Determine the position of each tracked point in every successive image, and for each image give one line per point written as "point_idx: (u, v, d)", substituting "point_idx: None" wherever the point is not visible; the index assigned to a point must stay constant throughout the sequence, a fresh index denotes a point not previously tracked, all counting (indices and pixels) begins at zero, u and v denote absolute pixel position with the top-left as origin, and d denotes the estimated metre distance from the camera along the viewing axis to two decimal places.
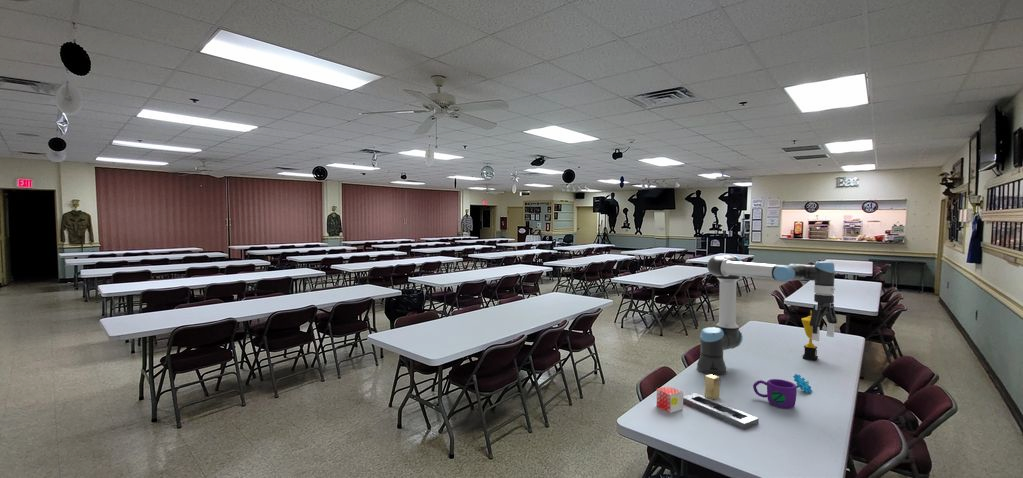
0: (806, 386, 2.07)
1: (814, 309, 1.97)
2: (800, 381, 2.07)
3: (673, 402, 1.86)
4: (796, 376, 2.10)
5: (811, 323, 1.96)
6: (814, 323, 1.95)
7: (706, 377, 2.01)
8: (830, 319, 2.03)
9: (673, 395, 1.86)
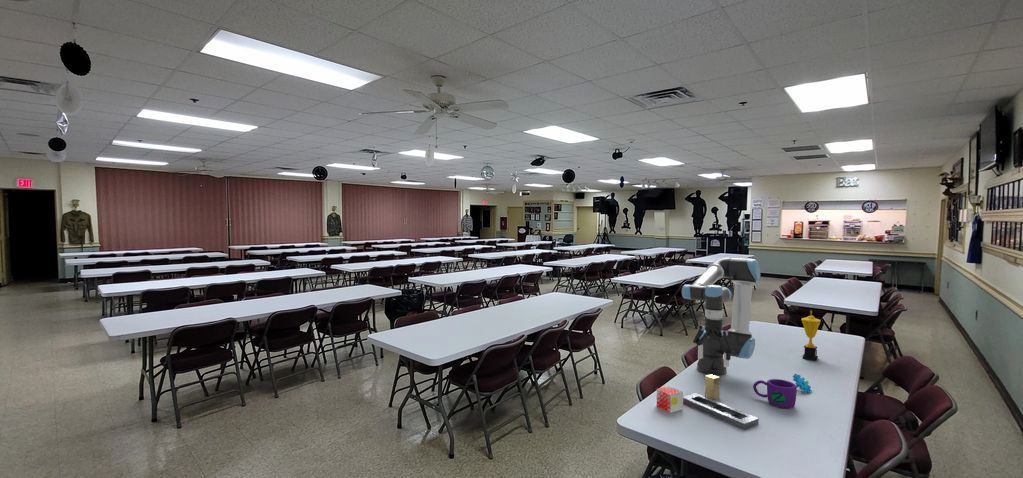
0: (805, 386, 2.07)
1: None
2: (799, 381, 2.08)
3: (673, 402, 1.86)
4: (795, 376, 2.10)
5: None
6: None
7: (706, 377, 2.01)
8: None
9: (673, 395, 1.86)
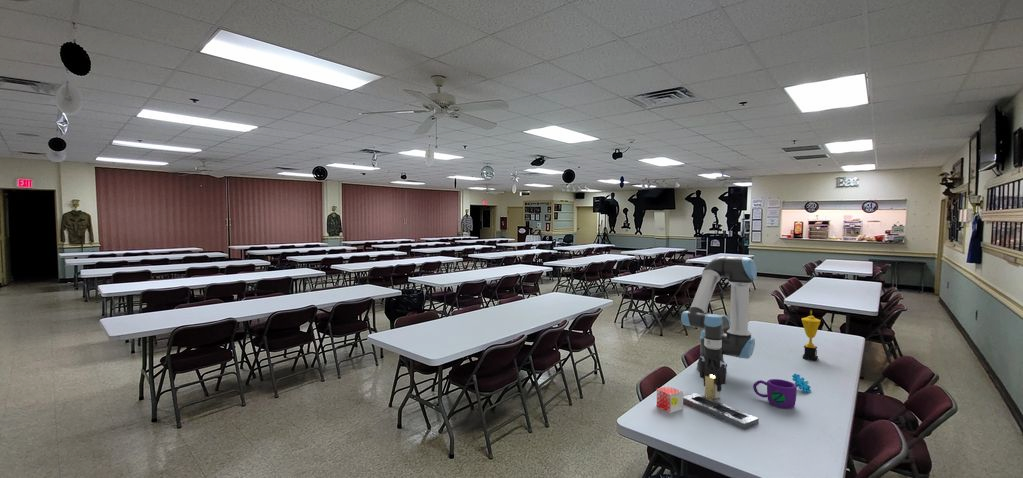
0: (805, 386, 2.07)
1: None
2: (799, 381, 2.08)
3: (673, 402, 1.86)
4: (795, 376, 2.11)
5: None
6: None
7: (706, 377, 2.01)
8: None
9: (673, 395, 1.86)
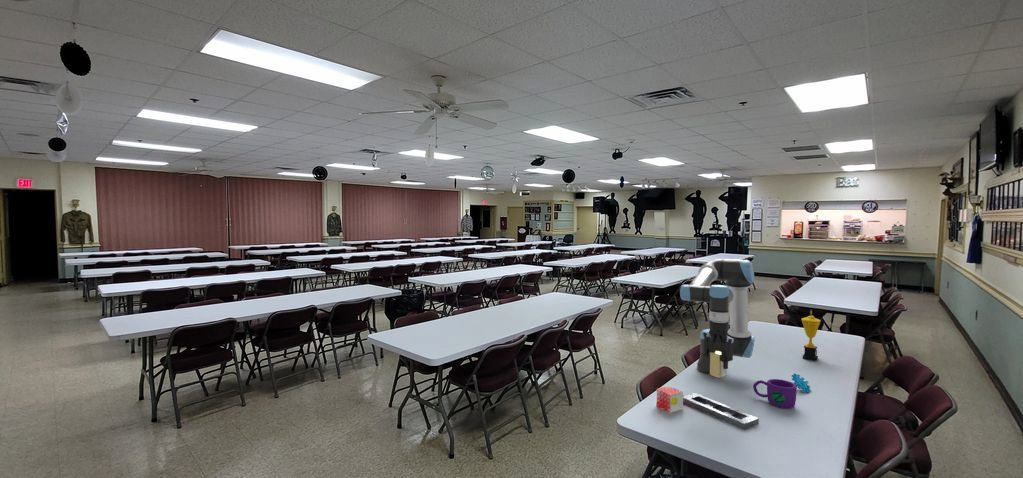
0: (804, 386, 2.07)
1: None
2: (798, 380, 2.08)
3: (673, 402, 1.86)
4: (795, 375, 2.11)
5: None
6: None
7: (711, 354, 1.84)
8: None
9: (673, 395, 1.86)
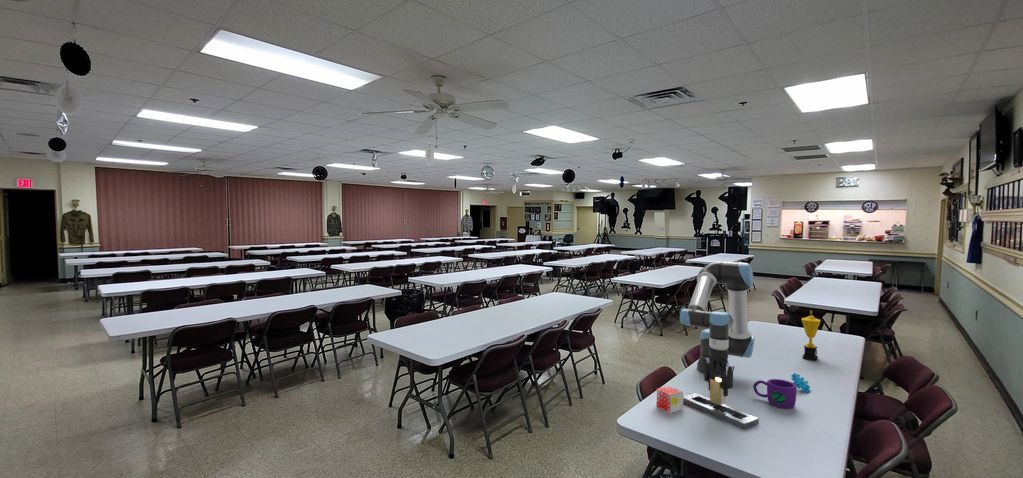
0: (804, 385, 2.07)
1: None
2: (798, 380, 2.08)
3: (673, 402, 1.86)
4: (794, 375, 2.11)
5: None
6: None
7: (711, 380, 1.84)
8: None
9: (673, 395, 1.86)
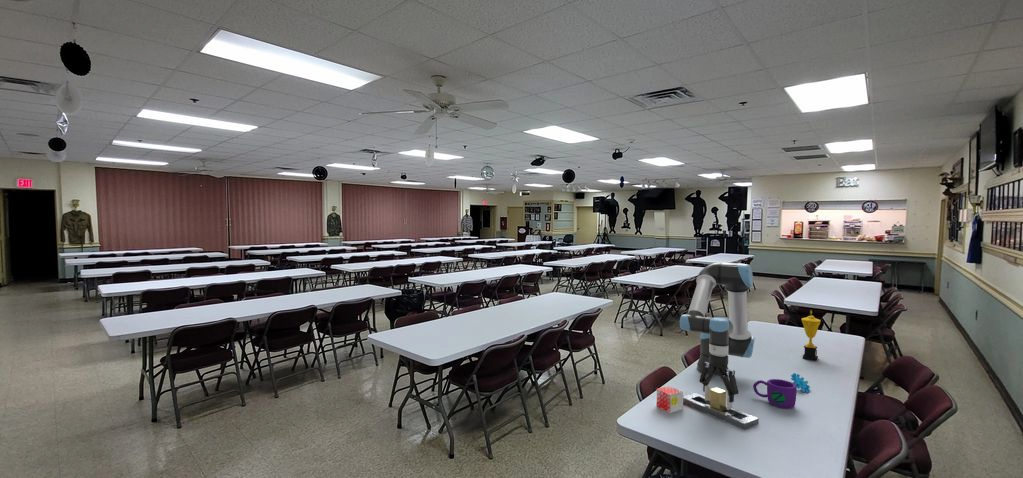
0: (804, 385, 2.08)
1: None
2: (798, 380, 2.09)
3: (673, 402, 1.86)
4: (794, 375, 2.11)
5: None
6: None
7: (711, 391, 1.84)
8: None
9: (673, 395, 1.86)
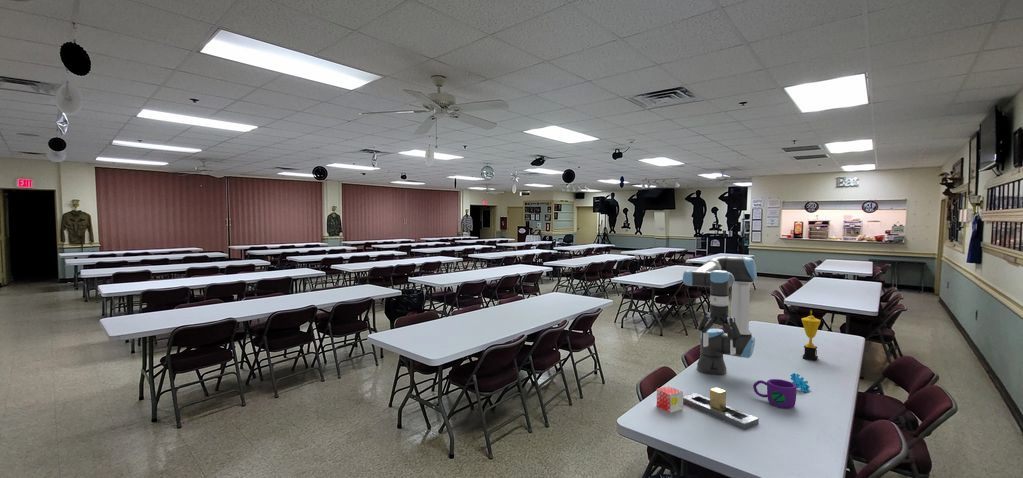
0: (803, 385, 2.08)
1: None
2: (797, 380, 2.09)
3: (673, 402, 1.86)
4: (794, 375, 2.11)
5: None
6: None
7: (711, 391, 1.84)
8: None
9: (673, 395, 1.86)
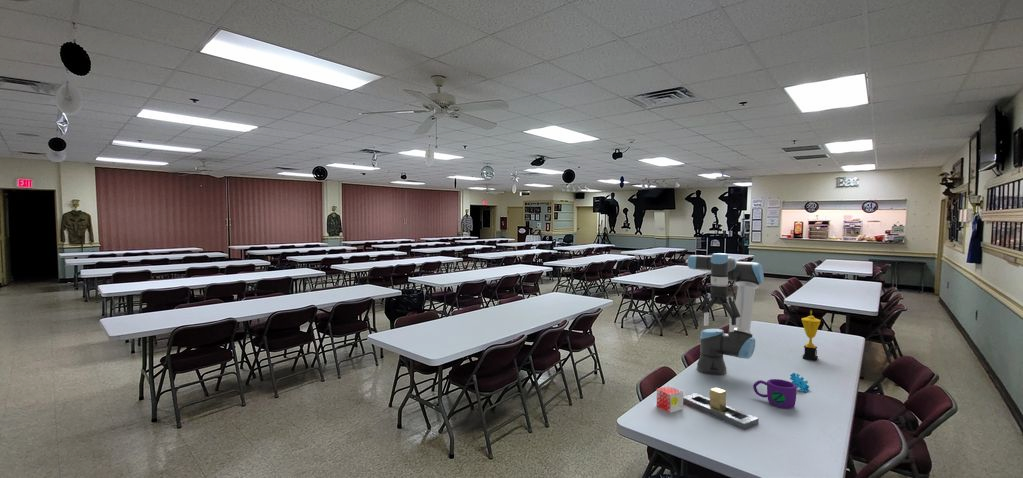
0: (803, 385, 2.08)
1: None
2: (797, 380, 2.09)
3: (673, 402, 1.86)
4: (794, 375, 2.12)
5: None
6: None
7: (711, 391, 1.84)
8: None
9: (673, 395, 1.86)
